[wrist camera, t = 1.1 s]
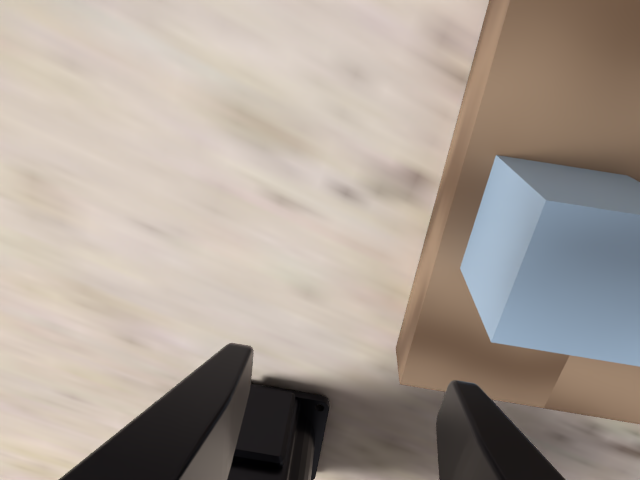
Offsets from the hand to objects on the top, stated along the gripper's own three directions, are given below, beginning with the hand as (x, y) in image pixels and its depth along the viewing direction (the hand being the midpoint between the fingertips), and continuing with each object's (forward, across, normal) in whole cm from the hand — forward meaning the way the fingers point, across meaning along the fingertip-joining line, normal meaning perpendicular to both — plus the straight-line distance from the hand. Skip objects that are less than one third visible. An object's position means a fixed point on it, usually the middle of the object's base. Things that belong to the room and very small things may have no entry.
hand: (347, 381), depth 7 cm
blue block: (+10, -7, 0) cm, 12 cm away
